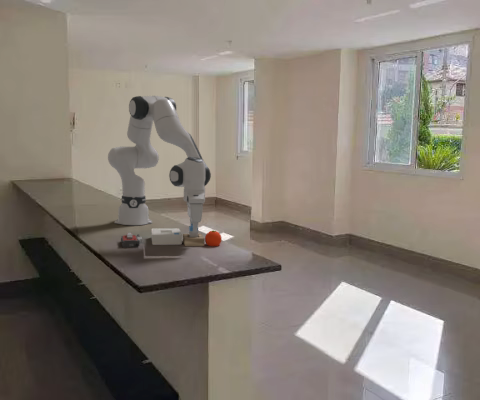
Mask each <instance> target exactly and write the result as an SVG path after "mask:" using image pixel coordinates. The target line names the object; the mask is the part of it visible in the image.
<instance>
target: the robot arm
mask: <svg viewBox="0 0 480 400" xmlns="http://www.w3.org/2000/svg"><path fill="white" fill-rule="evenodd" d="M128 112H129V115H130V118H129V122H128V128H127V132H126V134H127V138H128V140H129V141H130V142H131V143H133V144H135V145H134V146H115V147H112V148H111V149H110V150H109V152H108V155H107V160H108V163H109V164H110V166H111V167H112V168H113V169H115V170H116V172H117V173H118V174H119V176H120V179H121V188H122V195H121V204H120V205H119V206H118V208H117V209H118V215H117V216H118V217H117V219H115V220H114V224H118V225H123V226H141V225H142V226H143V225H148V224H153V220H152V219H150V218H149V216H150V215H149V207H148V205H147V204H146V201H147V200H146V199H147V197H146V194H145V193H146V187H145V186H146V183H145V180H144V178H142V177H141V176H140V175H137V174H136V172H135V169H150V168H151V169H152V168H155V167H156V166H157V165H158V163H159V160H160V157H159V156H160V155H159V153H158V151H157V150H156V148H155V147H154V146H153V145H152V143H151V134H152V129H153V126H154V127H155V131H156V133H157V135H158V137H159V138H160V139H161V141H164V142H166V143H167V144H171V145H173V146H177V147H178V148H180V149H182V151H183V152H185V154H186V156H187V157H186V158H185V159H184V161H181V163H177V164H175V165H173V166H172V167H170V168H171V169H170V171H169V175H168V177H169V181H170V184H172V185H173V186H174V187H178V188H183V201H184V202H186V206H187V216H188V217H189V221H190V222H189V223H190V224H189V226H193V232H197V231H198V232H199V223H201V222H202V219H203V208H204V204H205V202H206V186H207V185H208V184H209V182H210V181H211V177H212V176H211V175H212V173H211V170H210V168H209V166H208V165H207V164H206V162H205V161H204V159H203V157H202V155H201V152H200V149H199V148H198V146H197V144H196V141H195V140H194V138H193V136H192V135H191V134H190V133H189V132H188V131H187V130H186V129H185V127H184V126H183V124H182V122H181V120H180V118H179V115H178V111H177V104H176V101H175V100H174V99H173V98H171V97H168V96H161V95H160V96H159V95H147V96H146V95H143V96H141V95H138V96H134V97H132V98H131V99H130V100H129V104H128ZM153 124H154V125H153Z"/></svg>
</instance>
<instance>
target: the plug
mask: <svg viewBox="0 0 480 400" xmlns="http://www.w3.org/2000/svg"><path fill="white" fill-rule="evenodd" d="M188 234H189V237H198V234H199V230H198V231H197V232H193V226H190V225H189V226H188Z"/></svg>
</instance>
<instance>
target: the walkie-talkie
mask: <svg viewBox="0 0 480 400" xmlns="http://www.w3.org/2000/svg"><path fill="white" fill-rule="evenodd" d="M120 242H121V246H122V248H139V246H140V245H141V244H143V236H141V235H140V234H137V235H135V234H133V233H132V232H126V234H123V235H122V236H121V238H120Z"/></svg>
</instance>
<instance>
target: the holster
mask: <svg viewBox="0 0 480 400" xmlns="http://www.w3.org/2000/svg"><path fill="white" fill-rule="evenodd" d="M182 243H183V245H184V247H193V246H194V247H204V246H205V237H204V235H203V234H202V233H198V237H189V233H182Z"/></svg>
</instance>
